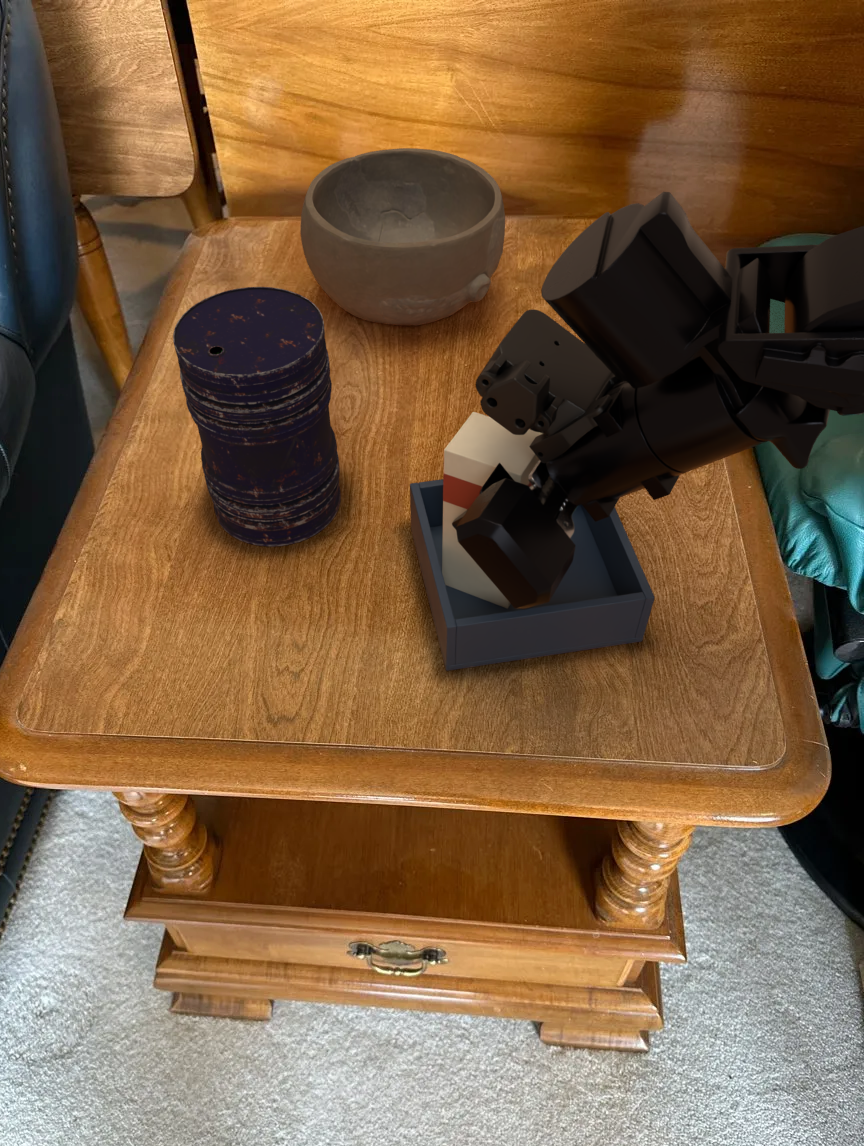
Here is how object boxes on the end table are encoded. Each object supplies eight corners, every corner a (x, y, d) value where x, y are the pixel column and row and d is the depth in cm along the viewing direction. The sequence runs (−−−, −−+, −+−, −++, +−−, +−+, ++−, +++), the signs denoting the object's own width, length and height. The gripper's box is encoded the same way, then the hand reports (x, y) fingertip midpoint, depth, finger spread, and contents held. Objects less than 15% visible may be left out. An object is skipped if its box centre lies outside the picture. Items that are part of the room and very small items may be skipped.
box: (585, 504, 71) (593, 458, 67) (642, 641, 63) (655, 597, 59) (410, 528, 70) (409, 483, 67) (445, 671, 62) (446, 627, 58)
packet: (531, 570, 66) (549, 434, 57) (507, 609, 64) (521, 475, 55) (466, 546, 68) (472, 410, 59) (441, 583, 66) (443, 449, 57)
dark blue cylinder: (277, 440, 77) (249, 269, 65) (369, 492, 73) (358, 319, 61) (185, 508, 72) (138, 338, 61) (278, 568, 68) (247, 397, 56)
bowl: (530, 325, 85) (540, 217, 77) (341, 371, 82) (332, 263, 74) (457, 232, 96) (459, 128, 88) (286, 270, 92) (273, 166, 84)
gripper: (645, 207, 52) (458, 332, 64) (501, 401, 42) (313, 504, 54) (751, 368, 56) (555, 456, 68) (642, 581, 46) (435, 640, 58)
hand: (471, 506), depth 62 cm, fingers closed on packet, 4 cm apart
